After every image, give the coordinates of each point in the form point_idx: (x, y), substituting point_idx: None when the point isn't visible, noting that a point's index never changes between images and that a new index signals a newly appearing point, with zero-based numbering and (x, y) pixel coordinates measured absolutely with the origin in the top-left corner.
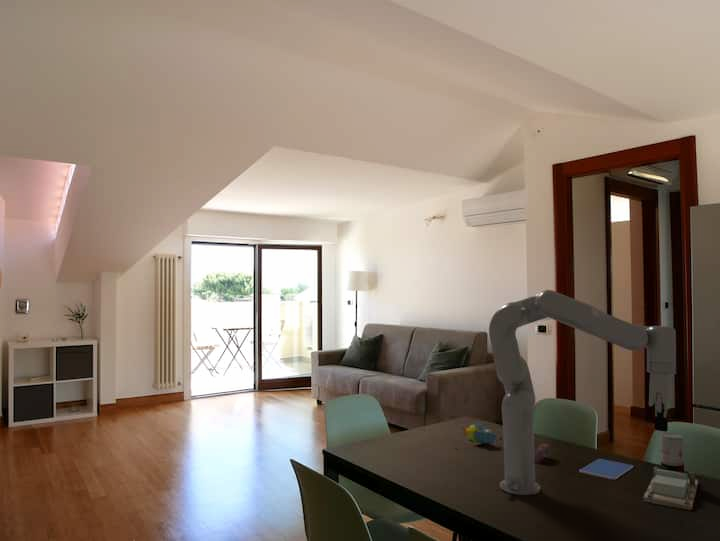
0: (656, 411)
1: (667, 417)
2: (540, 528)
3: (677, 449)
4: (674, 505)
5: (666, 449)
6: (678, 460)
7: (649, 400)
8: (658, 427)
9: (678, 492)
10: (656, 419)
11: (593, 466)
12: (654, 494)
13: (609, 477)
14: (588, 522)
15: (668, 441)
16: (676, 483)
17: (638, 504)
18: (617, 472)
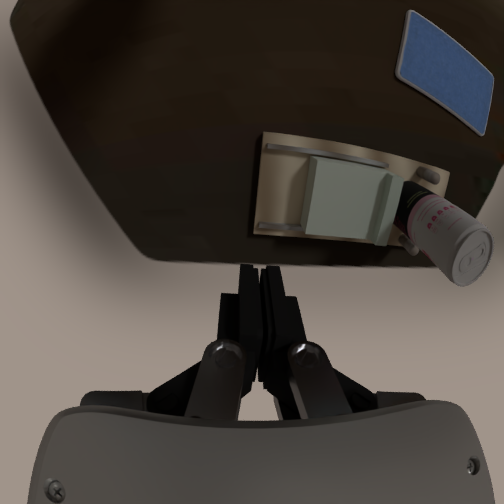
0: (151, 395)
1: (266, 387)
2: (31, 29)
3: (431, 255)
4: (256, 199)
5: (437, 225)
6: (415, 241)
7: (36, 462)
8: (221, 296)
9: (304, 214)
10: (239, 324)
11: (449, 46)
12: (300, 157)
13: (398, 64)
14: (76, 65)
15: (448, 244)
16: (329, 216)
17: (234, 122)
18: (436, 90)
